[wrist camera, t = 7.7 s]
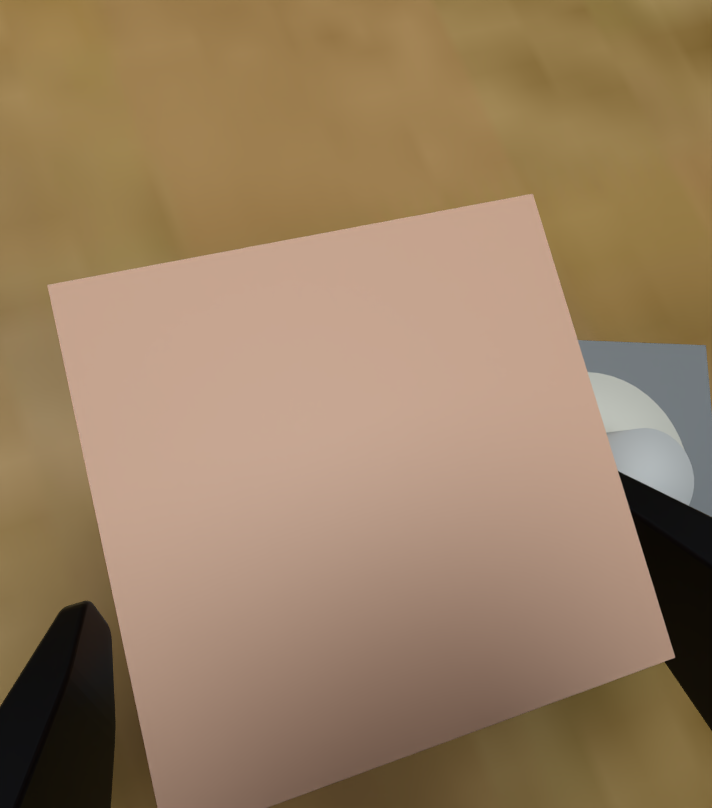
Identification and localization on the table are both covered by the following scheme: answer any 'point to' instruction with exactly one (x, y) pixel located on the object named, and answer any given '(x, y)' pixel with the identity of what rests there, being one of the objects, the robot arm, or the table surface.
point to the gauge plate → (656, 414)
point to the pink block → (350, 498)
